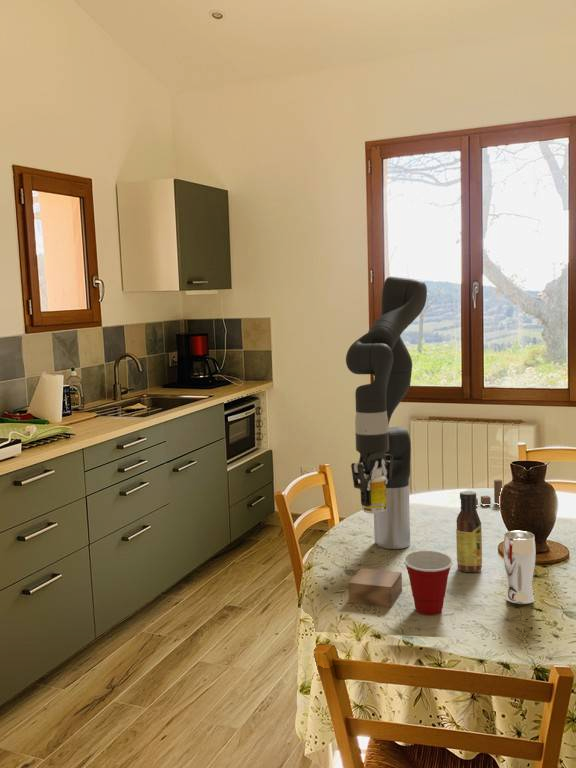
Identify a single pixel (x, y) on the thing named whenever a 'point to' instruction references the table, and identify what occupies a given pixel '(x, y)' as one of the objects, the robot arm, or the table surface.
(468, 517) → the sauce bottle
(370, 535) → the table surface
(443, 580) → the plastic cup
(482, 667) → the table surface
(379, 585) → the walnut block
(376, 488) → the supplement bottle
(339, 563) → the table surface
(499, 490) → the wood blocks
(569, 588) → the table surface
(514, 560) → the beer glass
